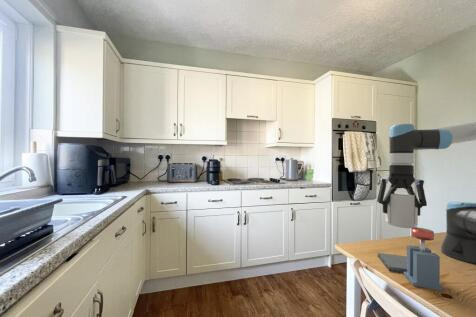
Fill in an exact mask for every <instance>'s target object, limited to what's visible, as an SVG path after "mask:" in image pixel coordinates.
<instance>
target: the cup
mask: <svg viewBox="0 0 476 317" xmlns="http://www.w3.org/2000/svg"><path fill="white" fill-rule="evenodd" d="M415 195H416V194H415ZM415 195H410V194H408V192H396V191H395V192H394V194H391V200H390V202H389V203H388V205H389V206H390V223H388V222H387V224H388V225H390V226H392V227H396V228H401V229H402V228H403V229H412V228H414V227H415V225H414V218H415Z"/></svg>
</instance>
